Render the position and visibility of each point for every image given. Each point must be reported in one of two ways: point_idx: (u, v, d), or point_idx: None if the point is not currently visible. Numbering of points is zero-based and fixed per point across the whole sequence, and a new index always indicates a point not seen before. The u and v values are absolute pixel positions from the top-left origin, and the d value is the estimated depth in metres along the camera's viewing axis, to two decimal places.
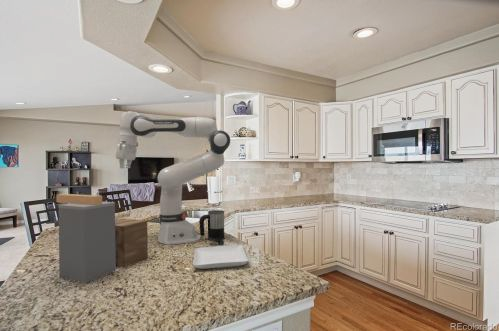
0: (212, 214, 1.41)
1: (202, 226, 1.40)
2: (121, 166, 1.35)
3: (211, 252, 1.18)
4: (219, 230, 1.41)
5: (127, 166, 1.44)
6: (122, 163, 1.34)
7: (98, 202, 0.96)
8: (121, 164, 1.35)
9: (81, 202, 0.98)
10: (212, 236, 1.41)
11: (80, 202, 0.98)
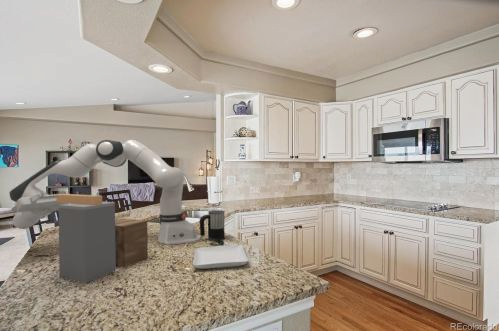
0: (212, 214, 1.41)
1: (202, 226, 1.40)
2: (38, 196, 1.10)
3: (211, 252, 1.18)
4: (220, 230, 1.41)
5: (62, 193, 1.19)
6: (34, 196, 1.11)
7: (98, 202, 0.96)
8: (36, 197, 1.10)
9: (81, 202, 0.98)
10: (212, 236, 1.40)
11: (80, 202, 0.98)
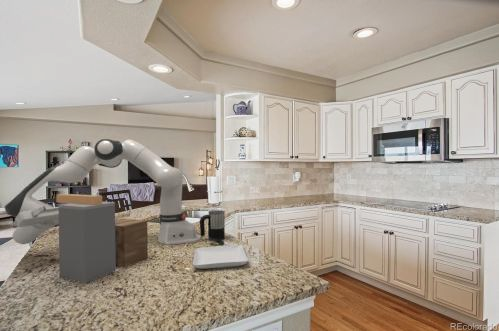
0: (212, 214, 1.40)
1: (202, 226, 1.40)
2: (40, 209, 1.02)
3: (211, 252, 1.18)
4: (220, 230, 1.41)
5: None
6: (36, 210, 1.02)
7: (98, 202, 0.96)
8: (38, 211, 1.02)
9: (81, 202, 0.98)
10: (212, 236, 1.40)
11: (80, 202, 0.98)
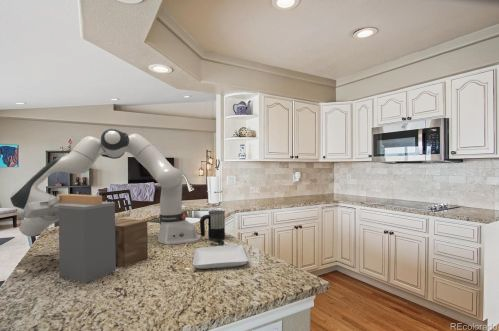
0: (212, 214, 1.40)
1: (202, 226, 1.40)
2: (56, 199, 1.02)
3: (211, 252, 1.18)
4: (220, 230, 1.41)
5: None
6: (52, 200, 1.02)
7: (98, 202, 0.96)
8: (54, 200, 1.02)
9: (81, 202, 0.98)
10: (212, 236, 1.40)
11: (80, 202, 0.98)
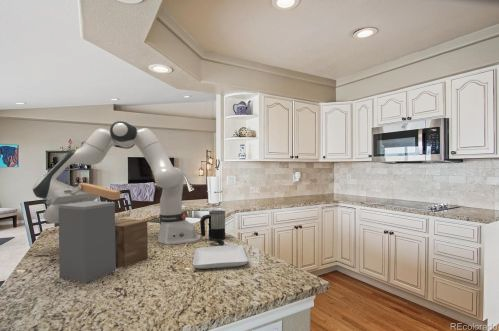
0: (213, 214, 1.40)
1: (203, 226, 1.39)
2: (78, 188, 1.13)
3: (211, 252, 1.18)
4: (220, 230, 1.41)
5: None
6: (75, 188, 1.13)
7: (116, 197, 1.08)
8: (76, 189, 1.13)
9: (101, 195, 1.09)
10: (213, 236, 1.40)
11: (100, 194, 1.09)
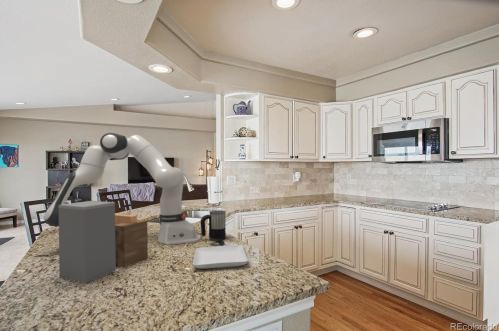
0: (213, 214, 1.40)
1: (203, 226, 1.39)
2: None
3: (211, 252, 1.18)
4: (221, 230, 1.40)
5: None
6: None
7: (134, 221, 1.11)
8: None
9: (118, 221, 1.13)
10: (213, 236, 1.40)
11: (117, 221, 1.13)
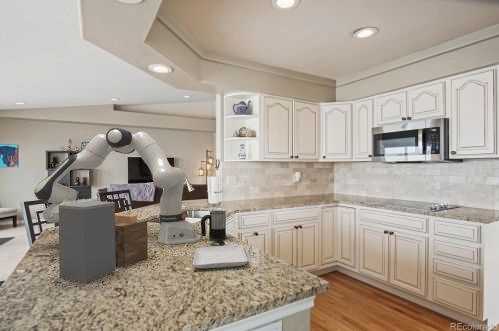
0: (213, 214, 1.40)
1: (203, 226, 1.39)
2: None
3: (211, 252, 1.18)
4: (221, 230, 1.40)
5: None
6: None
7: (134, 221, 1.11)
8: None
9: (118, 221, 1.13)
10: (213, 236, 1.40)
11: (117, 221, 1.13)
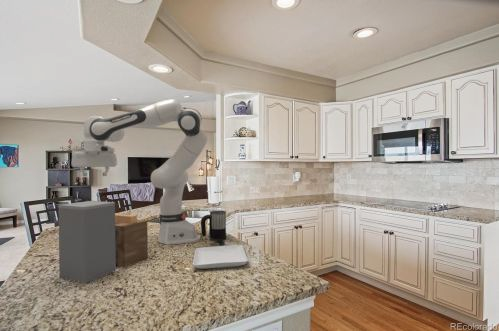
0: (213, 214, 1.40)
1: (203, 226, 1.39)
2: None
3: (211, 252, 1.18)
4: (221, 230, 1.40)
5: None
6: None
7: (134, 221, 1.11)
8: None
9: (118, 221, 1.13)
10: (213, 236, 1.40)
11: (117, 221, 1.13)
